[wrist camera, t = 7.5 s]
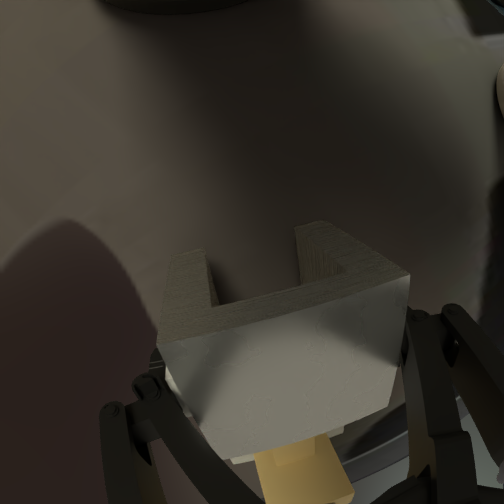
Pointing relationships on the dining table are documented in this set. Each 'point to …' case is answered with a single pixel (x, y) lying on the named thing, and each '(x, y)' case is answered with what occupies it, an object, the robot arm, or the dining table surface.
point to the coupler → (303, 473)
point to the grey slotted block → (286, 344)
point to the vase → (501, 88)
